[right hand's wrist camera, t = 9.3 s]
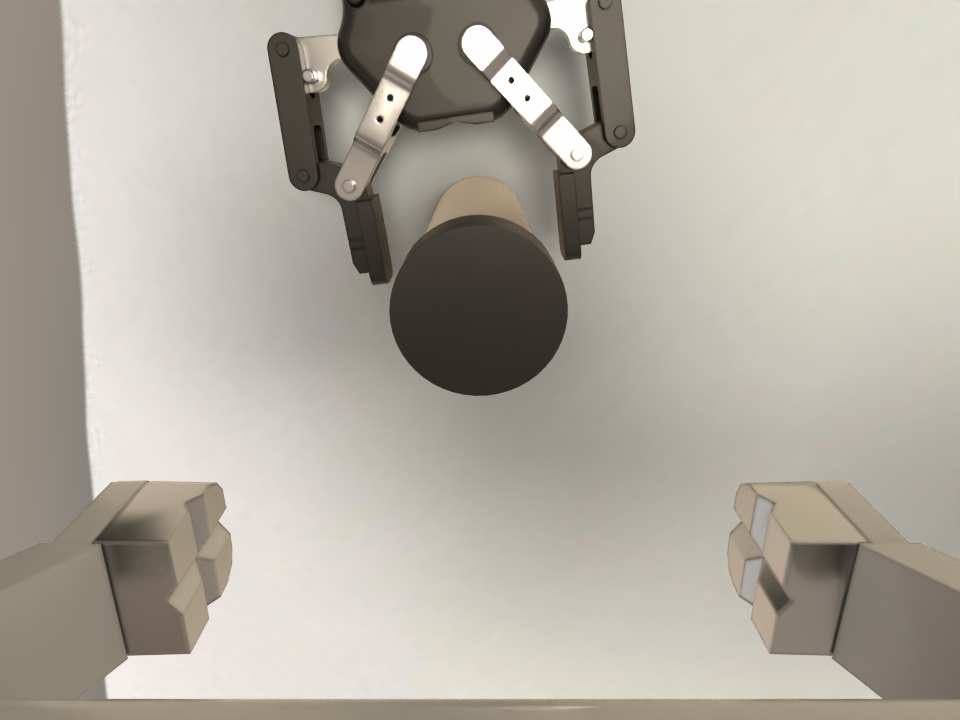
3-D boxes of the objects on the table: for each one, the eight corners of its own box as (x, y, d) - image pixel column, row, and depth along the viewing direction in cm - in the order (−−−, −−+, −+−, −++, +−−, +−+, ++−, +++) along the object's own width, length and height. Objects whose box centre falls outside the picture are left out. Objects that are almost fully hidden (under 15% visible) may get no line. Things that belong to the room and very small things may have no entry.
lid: (420, 386, 23) (415, 411, 21) (377, 235, 21) (367, 247, 19) (573, 354, 23) (581, 377, 21) (543, 196, 21) (550, 206, 19)
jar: (446, 275, 37) (422, 396, 22) (424, 188, 35) (381, 251, 20) (531, 256, 36) (569, 365, 21) (513, 167, 35) (540, 215, 20)
